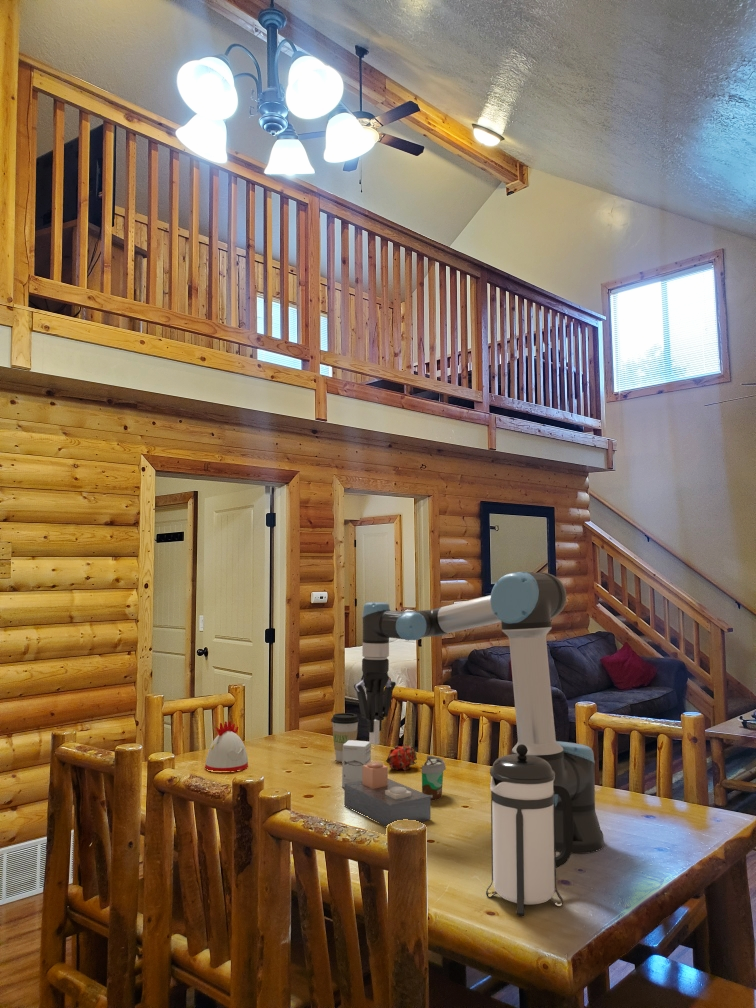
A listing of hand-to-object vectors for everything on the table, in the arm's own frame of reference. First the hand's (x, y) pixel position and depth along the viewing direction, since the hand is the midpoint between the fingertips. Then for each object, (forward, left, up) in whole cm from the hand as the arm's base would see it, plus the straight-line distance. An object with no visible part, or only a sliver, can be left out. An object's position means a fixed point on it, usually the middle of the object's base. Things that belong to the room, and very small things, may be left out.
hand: (374, 743), depth 201 cm
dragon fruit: (+27, -29, -17) cm, 43 cm away
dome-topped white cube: (-11, 0, -16) cm, 20 cm away
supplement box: (+20, -7, -17) cm, 27 cm away
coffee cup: (+48, -20, -17) cm, 55 cm away
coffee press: (-64, +6, -17) cm, 66 cm away
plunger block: (-6, 0, -17) cm, 18 cm away
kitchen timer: (+61, +18, -17) cm, 66 cm away
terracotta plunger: (0, 0, -12) cm, 12 cm away
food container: (-2, -20, -17) cm, 27 cm away
